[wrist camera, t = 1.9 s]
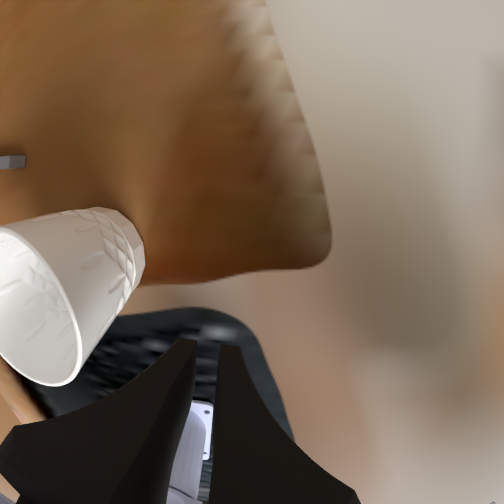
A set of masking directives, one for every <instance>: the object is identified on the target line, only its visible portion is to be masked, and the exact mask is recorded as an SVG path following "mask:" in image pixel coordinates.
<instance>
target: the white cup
mask: <svg viewBox="0 0 504 504" xmlns="http://www.w3.org/2000/svg"><path fill="white" fill-rule="evenodd" d="M144 267H145V255H144V246H143V242H142V240H141V238H140V236H139V234H138V232H137V230H136V228H135V227H134V225H133V223H132V222H131V221H129V220H128V219H127V218H126V217H124V216H123V215H122V214H121V213H119V212H118V211H117V210H113V209H108V208H103V207H93V208H88V209H83V210H69V211H63V212H56V213H50V214H46V215H41V216H37V217H32V218H28V219H24V220H20V221H16V222H11V223H7V224H3V225H0V355H1V356H2V357H3V358H4V359H5V360H6V361H7V362H8V363H9V364H10V365H11V366H12V367H13V368H14V369H15V370H17V371H18V372H19V373H21V374H22V375H24V376H25V377H27V378H29V379H30V380H32V381H34V382H37V383H39V384H42V385H47V386H62V385H65V384H68V383H69V382H71V381H72V380H73V379H74V378H75V377H76V375H77V374H78V372H79V371H80V369H81V368H82V366H83V365H84V363H85V362H86V360H87V359H88V357H89V356H90V354H91V353H92V351H93V350H94V348H95V347H96V345H97V344H98V342H99V341H100V340H101V338H102V337H103V335H104V334H105V332H106V331H107V330H108V328H109V327H110V325H111V324H112V323H113V321H114V320H115V318H116V316H117V315H118V313H119V312H120V311H121V309H122V308H123V306H124V305H125V303H126V301H127V299H128V298H129V296H130V294H131V293H132V292H133V291H134V289H135V288H136V287H137V286H138V284H139V282H140V279H141V276H142V273H143V270H144Z"/></svg>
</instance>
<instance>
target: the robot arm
mask: <svg viewBox="0 0 504 504" xmlns="http://www.w3.org/2000/svg"><path fill="white" fill-rule="evenodd" d="M196 352H197V341H196V340H190V339H184V338H179V339H178V340H176V341H175V342H174V343H173V344H172V345H171V346H170V347H169V348H168V349H167V350H166V351H165V352H164V353H163V354H162V355H161V356H160V357H159V358H158V359H157V360H156V361H155V362H153V363H152V364H151V365H150V366H149V367H148V368H147V369H145V370H144V371H143V372H142V373H140V374H139V375H138V376H136V377H135V378H134V379H132V380H131V381H130V382H128V383H127V384H125V385H124V386H122V387H121V388H119V389H118V390H116V391H115V392H113V393H111V394H109V395H108V396H106V397H104V398H102V399H100V400H98V401H96V402H94V403H92V404H90V405H88V406H86V407H83V408H81V409H79V410H76V411H73V412H71V413H68V414H65V415H62V416H59V417H55V418H52V419H48V420H44V421H39V422H34V423H29V424H23V425H16V426H14V427H13V428H12V430H11V431H10V433H9V434H8V435H7V436H6V438H5V439H4V441H3V442H2V444H1V445H0V473H1V475H2V476H3V477H4V478H5V479H6V480H7V481H8V482H9V483H10V484H11V485H12V486H13V488H14V489H15V490H16V491H17V492H18V493H19V494H20V497H19V498H18V500H17V502H16V503H15V502H13V501H12V500H10V499H9V498H7V497H6V496H4V495H3V494H2V493H0V504H202V503H203V502H201V501H198V500H197V496H198V489H199V482H200V474H201V467H202V460H207V459H209V452H210V440H211V428H212V416H213V405H212V404H211V403H209V402H203V401H197V400H192V398H193V392H194V387H195V374H196ZM206 410H207V411H206ZM208 504H361V503H360V501H359V499H358V497H357V494H356V492H355V490H353V489H352V488H350V487H349V486H347V485H345V484H344V483H342V482H341V481H339V480H338V479H336V478H335V477H333V476H332V475H330V474H329V473H328V472H326V471H325V470H324V469H323V468H321V467H320V466H319V465H318V464H317V463H315V462H314V461H313V460H312V459H311V458H310V457H309V456H308V455H307V454H305V453H304V452H303V450H301V448H299V447H298V446H297V445H296V444H295V443H294V441H293V440H292V439H291V438H290V437H289V436H288V435H287V434H286V432H285V431H284V430H283V429H282V428H281V426H280V425H279V424H278V422H277V421H276V420H275V418H274V417H273V416H272V414H271V413H270V411H269V410H268V408H267V407H266V405H265V403H264V402H263V400H262V398H261V397H260V395H259V393H258V391H257V389H256V387H255V385H254V383H253V381H252V379H251V377H250V374H249V372H248V369H247V367H246V364H245V361H244V358H243V354H242V349H241V348H240V347H239V346H231V345H224V344H221V348H220V353H219V361H218V371H217V381H216V391H215V402H214V422H213V466H212V475H211V484H210V493H209V502H208ZM490 504H495V502H492V503H490Z"/></svg>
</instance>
